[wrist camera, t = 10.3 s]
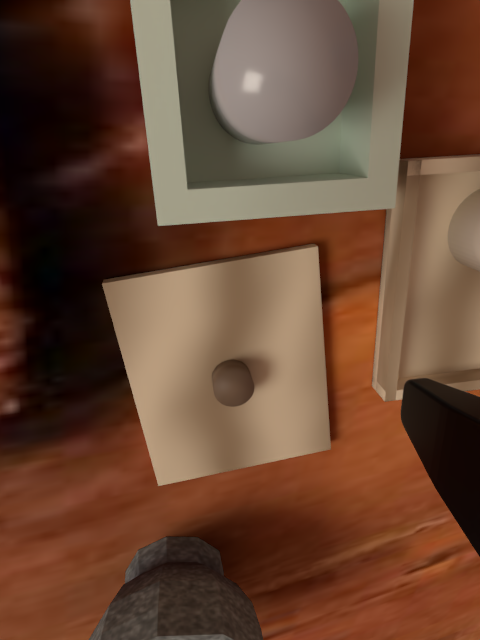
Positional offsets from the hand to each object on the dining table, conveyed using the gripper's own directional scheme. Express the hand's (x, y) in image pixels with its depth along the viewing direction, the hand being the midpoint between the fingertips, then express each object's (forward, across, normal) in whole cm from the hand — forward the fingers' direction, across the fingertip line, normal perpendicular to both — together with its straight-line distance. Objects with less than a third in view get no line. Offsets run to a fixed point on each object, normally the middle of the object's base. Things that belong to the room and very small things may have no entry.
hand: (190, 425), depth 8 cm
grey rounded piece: (+12, -4, -7) cm, 14 cm away
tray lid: (+12, -2, +6) cm, 14 cm away
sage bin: (+12, -4, -7) cm, 15 cm away
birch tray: (+12, -15, +2) cm, 20 cm away
